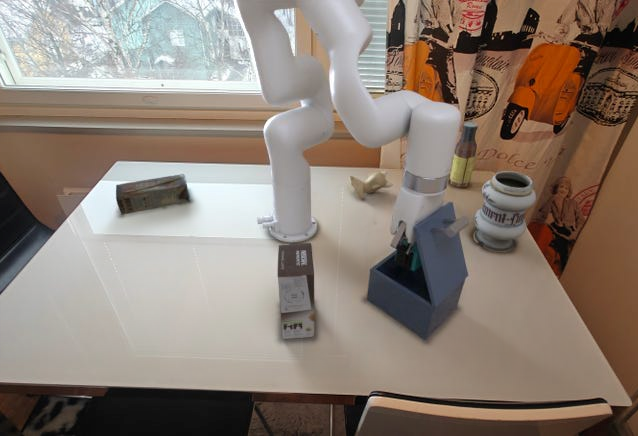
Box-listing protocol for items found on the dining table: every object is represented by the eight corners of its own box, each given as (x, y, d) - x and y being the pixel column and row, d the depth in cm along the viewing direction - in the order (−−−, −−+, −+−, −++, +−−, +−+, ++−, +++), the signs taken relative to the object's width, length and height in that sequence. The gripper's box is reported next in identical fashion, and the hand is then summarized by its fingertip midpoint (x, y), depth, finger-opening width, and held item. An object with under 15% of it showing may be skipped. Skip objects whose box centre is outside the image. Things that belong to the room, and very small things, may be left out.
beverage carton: (191, 202, 113) (187, 183, 110) (120, 217, 107) (113, 196, 104) (188, 190, 120) (183, 170, 116) (120, 203, 113) (113, 183, 110)
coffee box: (315, 337, 74) (315, 275, 65) (282, 339, 74) (277, 277, 65) (312, 301, 82) (311, 242, 72) (281, 303, 81) (277, 243, 72)
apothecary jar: (459, 237, 100) (475, 176, 90) (486, 221, 106) (504, 162, 96) (501, 261, 92) (524, 197, 82) (528, 243, 98) (552, 181, 88)
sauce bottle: (466, 179, 126) (481, 120, 115) (471, 189, 121) (486, 128, 110) (446, 178, 126) (458, 119, 115) (449, 188, 121) (463, 127, 110)
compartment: (366, 299, 82) (369, 268, 77) (399, 273, 89) (404, 243, 84) (425, 340, 74) (433, 308, 69) (456, 308, 80) (466, 277, 75)
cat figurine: (346, 173, 116) (383, 160, 116) (349, 188, 122) (385, 175, 122) (355, 193, 111) (394, 179, 111) (358, 207, 117) (395, 194, 117)
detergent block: (414, 271, 74) (417, 253, 71) (394, 260, 76) (397, 242, 74) (427, 260, 76) (430, 242, 74) (408, 250, 79) (411, 232, 76)
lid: (412, 227, 65) (440, 229, 60) (448, 201, 71) (476, 201, 67) (432, 306, 69) (460, 313, 65) (464, 275, 75) (491, 279, 71)
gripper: (433, 156, 73) (418, 233, 83) (376, 187, 63) (368, 270, 73) (470, 169, 68) (450, 249, 79) (415, 204, 59) (401, 291, 69)
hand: (410, 258), depth 76 cm, fingers closed on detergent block, 4 cm apart
